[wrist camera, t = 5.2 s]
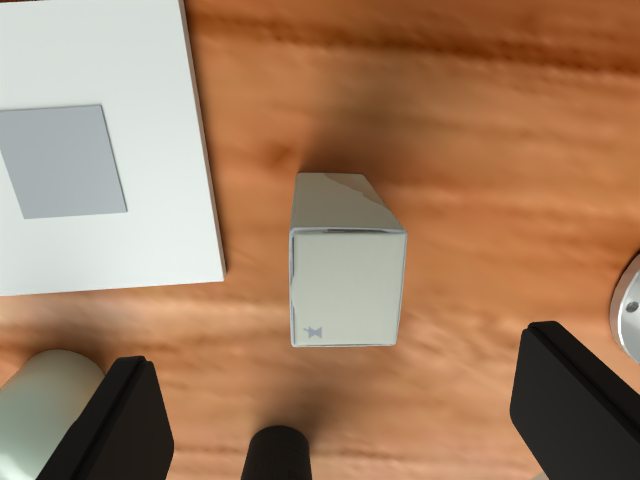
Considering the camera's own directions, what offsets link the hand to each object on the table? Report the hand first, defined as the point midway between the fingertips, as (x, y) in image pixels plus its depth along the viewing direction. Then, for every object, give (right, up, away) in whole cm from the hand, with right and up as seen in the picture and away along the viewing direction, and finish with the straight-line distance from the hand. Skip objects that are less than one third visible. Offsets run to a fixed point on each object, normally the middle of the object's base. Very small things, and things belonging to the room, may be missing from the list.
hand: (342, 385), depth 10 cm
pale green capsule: (-19, -7, +19) cm, 28 cm away
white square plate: (-15, +8, +13) cm, 22 cm away
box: (0, +6, +15) cm, 16 cm away
